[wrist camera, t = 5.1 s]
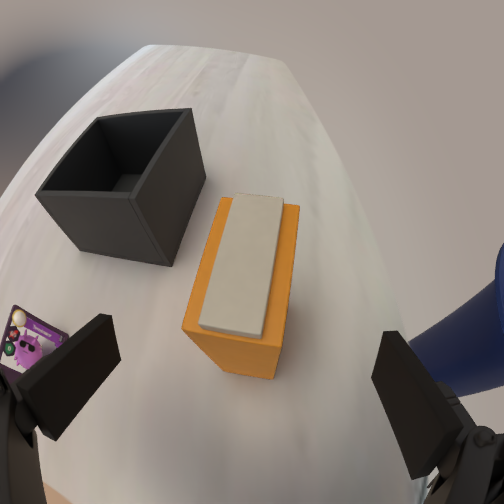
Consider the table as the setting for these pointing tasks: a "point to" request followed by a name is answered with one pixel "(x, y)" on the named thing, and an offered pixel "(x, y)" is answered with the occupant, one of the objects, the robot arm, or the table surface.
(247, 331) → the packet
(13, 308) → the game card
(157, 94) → the table surface
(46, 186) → the bin
